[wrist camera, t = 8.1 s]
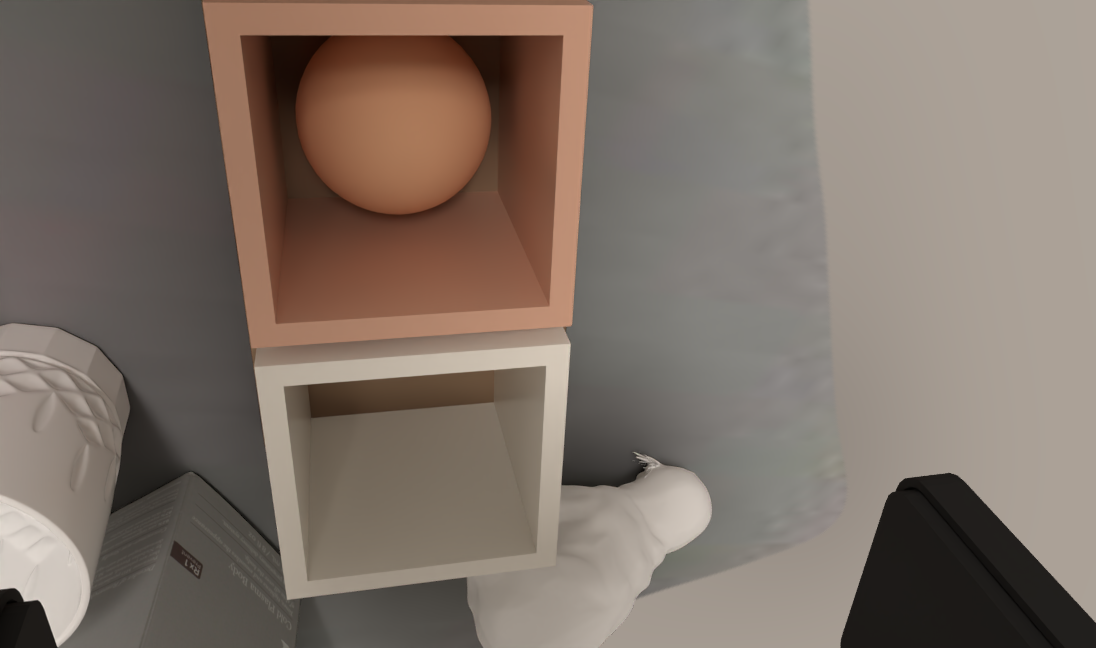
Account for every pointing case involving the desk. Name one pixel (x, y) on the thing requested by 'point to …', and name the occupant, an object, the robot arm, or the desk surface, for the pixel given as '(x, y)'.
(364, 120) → the ball
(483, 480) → the white open box
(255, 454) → the desk surface
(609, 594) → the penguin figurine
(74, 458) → the white cup
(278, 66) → the board
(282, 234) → the orange open box
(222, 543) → the skincare box
